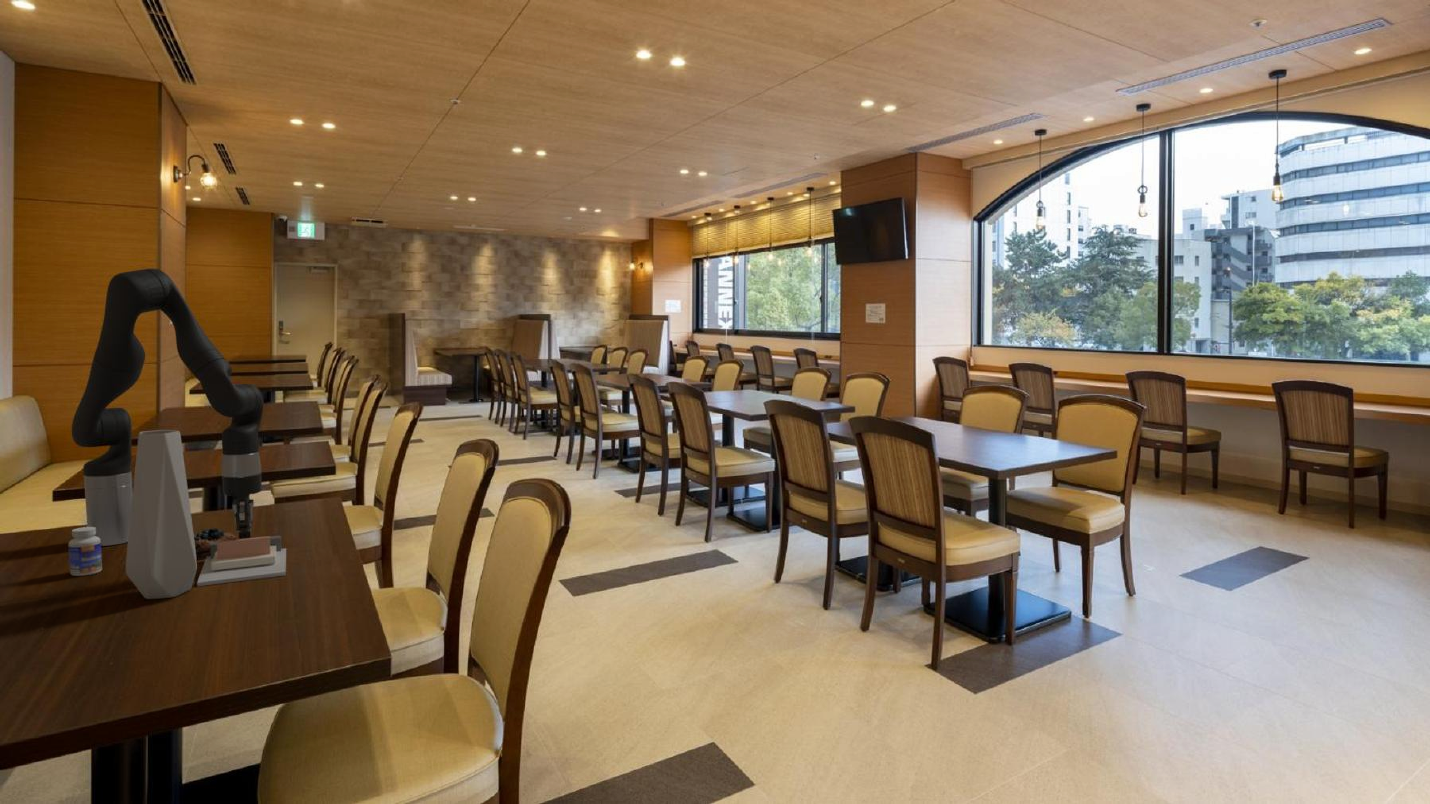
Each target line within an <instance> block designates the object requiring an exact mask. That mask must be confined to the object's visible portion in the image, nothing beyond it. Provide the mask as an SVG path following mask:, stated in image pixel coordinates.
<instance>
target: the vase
mask: <svg viewBox="0 0 1430 804" xmlns="http://www.w3.org/2000/svg"><path fill="white" fill-rule="evenodd" d="M136 449H137V450H136V455H135V456H136V458H135V465H134V466H135V469H134V476H133V477H134V478H133V485H132V489H133V496H132V506H131V516H130V526H129V536H128V542H127V546H126V547H127V548H126V559H125V574H126V576H127V578H129V580H130V581H131V582H132V583H133V585H134V586H135V587H136V589H137V590H138V591H139V593H140V594H141V595H142V596H143V598H144V599H145V600H146V599H147V600H158V599H170V598H175V597H178V596H180V595H182V594H185V593H186V592H188V591H190V590H191V589H192V586H193V583H194V580H195V577H196V574H197V569H198V564H197V560H196V549H195V541H194V536H195V534H194V533H195V532H194V527H193V519H192V511H191V503H190V495H189V488H188V479H187V472H186V467H185V460H184V459H185V458H184V451H183V449H184V448H183V443H182V436H181V431H179V430H173V429H157V430H154V429H153V430H147V431H145V430H143V431H140V432H139V434H138V437H137V447H136Z"/></svg>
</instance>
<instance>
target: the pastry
mask: <svg viewBox="0 0 1430 804" xmlns="http://www.w3.org/2000/svg"><path fill="white" fill-rule="evenodd" d="M236 539H239V537H237V536H236V535H235V534H232V533H231V532H224V531H223V530H222V529H218V528H217V527H211V528H208V529H207V528H206V529H203V530H202V532H199V533H196V535H195V534H194V541H195V549H196V561H201V560H206V557H210V556H211V550H210V545H211V543H212V542H217V541H227V540H236Z"/></svg>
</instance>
